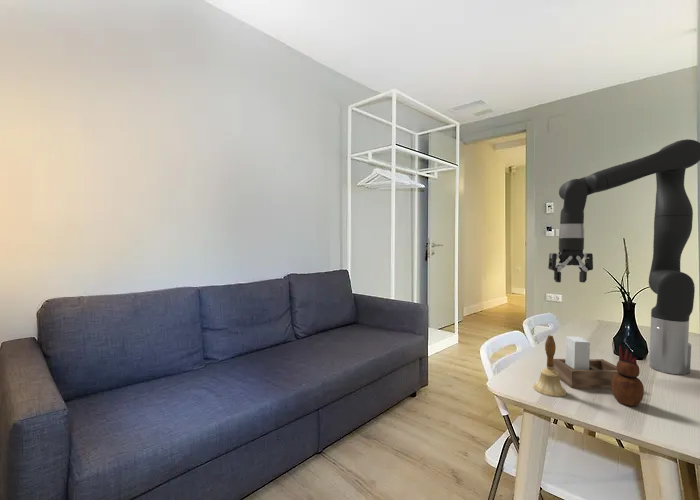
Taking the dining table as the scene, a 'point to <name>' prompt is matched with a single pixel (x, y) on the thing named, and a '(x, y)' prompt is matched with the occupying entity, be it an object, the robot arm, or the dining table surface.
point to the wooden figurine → (627, 380)
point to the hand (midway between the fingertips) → (570, 282)
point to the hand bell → (550, 374)
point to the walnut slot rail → (586, 374)
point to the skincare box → (577, 353)
